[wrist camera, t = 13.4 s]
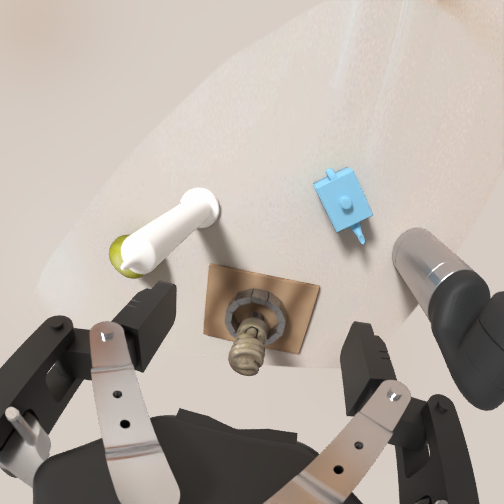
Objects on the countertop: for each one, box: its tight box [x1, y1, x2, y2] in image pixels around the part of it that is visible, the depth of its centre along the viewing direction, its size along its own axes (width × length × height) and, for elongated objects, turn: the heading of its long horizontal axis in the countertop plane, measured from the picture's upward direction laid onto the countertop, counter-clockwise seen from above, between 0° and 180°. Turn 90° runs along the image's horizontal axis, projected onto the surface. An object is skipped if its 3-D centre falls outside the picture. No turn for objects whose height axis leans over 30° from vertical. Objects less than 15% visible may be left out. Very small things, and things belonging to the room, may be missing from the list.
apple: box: [109, 235, 144, 279], centre depth 50 cm, size 8×9×8 cm
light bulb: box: [228, 312, 268, 376], centre depth 47 cm, size 6×6×15 cm
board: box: [203, 264, 319, 354], centre depth 54 cm, size 20×16×1 cm
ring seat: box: [225, 288, 286, 345], centre depth 53 cm, size 11×11×3 cm
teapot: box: [313, 167, 373, 244], centre depth 41 cm, size 12×6×8 cm, turn 29°
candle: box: [120, 188, 219, 274], centre depth 37 cm, size 7×7×25 cm
